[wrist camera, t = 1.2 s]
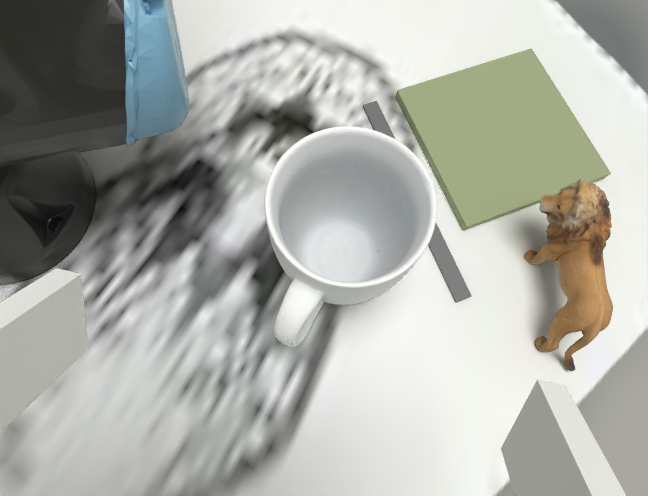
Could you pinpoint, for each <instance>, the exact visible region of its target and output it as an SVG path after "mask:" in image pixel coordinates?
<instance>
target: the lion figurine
mask: <svg viewBox="0 0 648 496" xmlns="http://www.w3.org/2000/svg"><path fill="white" fill-rule="evenodd" d="M540 203H541V204H540V207H539V210H540V211H541V212H542V213H546V214H547V219H548V221H549V222H550V224H549V225H548V227H547V231H546V232H547V233H548V235H547V238H548V243H546V244H545V245H544V246H543V247H542V248H541V249H540V250H539V252H538V253H537V252H536V251H533V250H529V251H527V252H526V253H525V255H524V258H525V259H526V260H527V261H528V262H529V263H531V264H537V265H539V264H541V263H542V262H544V261H545V260H551V261H558V275H559V280H560V284H561V288H562V290H563V292H564V294H565V295H566V296H567V298H568V301H567V304H566V305H565V306H564V307H562V308H561V309H560V310H559V311H558V312H557V314H556V315H555V317H554V319H553V320H552V322H551V326H550V330H549V335H548V338H545V337H544V336H541V337H539V338H537V340H536V341H535V345H536V347H537V349H538V350H540V351H542V352H551V351H553V350H555V349H557V348H558V346H559V342H560V340H561V339H562V338H563V337H564V336H565V335H566V334H568V333H572V332H578V331H582V334H583V337H582V338H580V339H579V340H578V341H576V342H575V343H574V344H573V345H572V346H570V347H569V348H568V350H567V351H566V352H565V358H564V359H565V361H564V364H565V366H566V367H567V369H568V370H570V371H574V370H575V366H574V363H573V358H572V357H571V355H572V354H573V353H575V352H576V351H578V350H579V349H581V348H583V347H584V346H586V345H587V344H589V343H590V342H591V341H592V340H593V339H594V338H595V337H596V336H597V335H598V333H599V332H600V331H602V330H604V329H605V328H606V327H607V326H608V325H609V322H610V320H611V315H612V311H613V305H612V301H611V299H610V296H609V293H608V290H607V285H606V279H605V269H604V262H603V249H604V247H605V246H606V240H608V239H609V237H610V228H611V227H612V225H611V222H610V221H611V217H610V216H611V214H610V209H609V208H608V206H609V202H608V200H607V198H606V195H605V193H604V191H602V190H601V189H600V188H599V187H598V186H596V185H595V184H593V183H589V182H584V180H583V179H582V178H580V179H579V180H578V181H576V182H575V183H572V184H570V185H568V186H566V187H563V188H561V189H560V191H559V193H558V194H556V195H549V194H548V195H544V196H542V197H541V199H540Z"/></svg>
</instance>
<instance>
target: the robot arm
mask: <svg viewBox="0 0 648 496" xmlns="http://www.w3.org/2000/svg"><path fill="white" fill-rule="evenodd" d="M188 110H189V99H188V90H187V83H186V76H185V70H184V64H183V58H182V52H181V47H180V41H179V36H178V30H177V25H176V20H175V15H174V10H173V5H172V0H0V285H2V284H10V283H15V282H20V281H23V280H26V279H29V278H32V277H34V276H36V275H39V274H41V273H42V272H44V271H46V270H48V269H49V268H51V267H53V266H54V265H55V264H57V263H58V262H59V261H61V260H62V259H63V258H64V257H65V256H66V255H68V254H69V253H70V252H71V251H72V249H73V248H74V247H75V246H76V245H77V243H78V242H79V241H80V239H81V238H82V236H83V235H84V233H85V231H86V230H87V227H88V225H89V223H90V221H91V218H92V215H93V211H94V206H95V197H96V195H95V184H94V179H93V176H92V173H91V171H90V169H89V167H88V165H87V164H86V162H85V161H84V159H83V158H82V157H81V156H80V155H79V154H78V153H80V152H85V151H91V150H96V149H102V148H107V147H113V146H118V145H124V144H126V145H131V144H134V143H135V142H136V140H140V139H143V138H147V137H151V136H155V135H159V134H163V133H167V132H171V131H173V130H174V129H176V128H178V127H179V126H180V125H181V124H182V123H183V121H184V120H185V119H186V117H187V114H188ZM88 348H89V347H88V337H87V327H86V318H85V308H84V298H83V289H82V279H81V274H79V273H75V272H70V271H66V270H62V269H57V268H56V269H54V270H52V271H51V272H49V273H48V274H46V275H44V276H43V277H41V278H39V279H38V280H36V281H35V282H33V283H31V284H30V285H28V286H27V287H25V288H23V289H22V290H20V291H18V292H17V293H15V294H14V295H12V296H10V297H9V298H7V299H5V300H4V301H2V302H1V303H0V432H1V431H2V430H3V429H4V428H5V427H6V426H8V425H9V424H10V423H11V422H12V421H13V420H14V419H15V418H16V417H17V416H18V415H19V414H20V413H21V412H22V411H23V410H24V409H25V408H26V407H28V406H29V405H30V404H31V403H32V402H33V401H34V400H35V399H36V398H37V397H38V396H39V395H40V394H41V393H42V392H43V391H44V390H45V389H46V388H47V387H49V386H50V385H51V384H52V383H53V382H54V381H55V380H56V379H57V378H58V377H59V376H60V375H61V374H62V373H63V372H64V371H65V370H66V369H67V368H69V367H70V366H71V365H72V364H73V363H74V362H75V361H76V360H77V359H78V358H79V357H80V356H81V355H82V354H83V353H84V352H85V351H86V350H87V349H88ZM501 450H502V453H503V457H504V460H505V464H506V467H507V470H508V474H509V477H510V481H511V484H512V488H513V491H514V494H515V496H626V495H625V493H624V491H623V489H622V488H621V486H620V484H619V482H618V480H617V478H616V477H615V475H614V473H613V471H612V469H611V467H610V466H609V464H608V462H607V460H606V458H605V456H604V455H603V453H602V451H601V449H600V447H599V445H598V444H597V442H596V440H595V438H594V436H593V435H592V433H591V431H590V429H589V427H588V426H587V424H586V422H585V420H584V418H583V416H582V414H581V413H580V411H579V409H578V407H577V405H576V404H575V402H574V400H573V398H572V396H571V394H570V393H569V391H568V389H567V387H566V386H563V385H558V384H554V383H550V382H545V381H541V380H537V382H536V383H535V385H534V387H533V389H532V391H531V393H530V395H529V397H528V399H527V400H526V402H525V404H524V406H523V408H522V410H521V412H520V414H519V415H518V417H517V419H516V421H515V423H514V425H513V427H512V429H511V431H510V432H509V434H508V436H507V438H506V440H505V442H504V444H503V446H502V448H501Z"/></svg>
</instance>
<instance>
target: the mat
mask: <svg viewBox="0 0 648 496" xmlns="http://www.w3.org/2000/svg"><path fill="white" fill-rule="evenodd" d="M396 98H397V100H398V102H399V104H400V106H401V108H402V110H403V112H404V114H405V116H406V118H407V120H408V122H409V124H410V126H411V128H412V130H413V132H414V134H415V136H416V138H417V140H418V142H419V144H420V146H421V148H422V150H423V152H424V154H425V156H426V158H427V160H428V162H429V164H430V166H431V168H432V170H433V172H434V174H435V176H436V178H437V180H438V182H439V184H440V186H441V188H442V190H443V192H444V194H445V196H446V198H447V200H448V202H449V204H450V206H451V208H452V210H453V212H454V214H455V215H456V217H457V219H458V221H459V223H460V225H461V227H462V229H463V230H465V229H468V228H471V227H473V226H476V225H479V224H481V223H484V222H487V221H489V220H492V219H495V218H498V217H500V216H503V215H506V214H508V213H511V212H514V211H517V210H519V209H522V208H525V207H527V206H530V205H533V204H535V203H538V202H540V199H541V197H542V196H544V195H548V194H549V195H556V194H558V193H559V191H560V189H561V188H563V187H566V186H568V185H570V184H572V183H575V182H576V181H578V180H579V179H580V178H582V179H583V180H584V182H589V183H592V182H595V181H598V180H600V179H603V178H605V177H607V176H608V175H610V174H611V173H610V171H609V170H608V168H607V166H606V165H605V163H604V162H603V160H602V159H601V157H600V155H599V154H598V152H597V151H596V149H595V148H594V146H593V144H592V143H591V141H590V140H589V138H588V137H587V135H586V133H585V132H584V130H583V129H582V127H581V126H580V124H579V122H578V121H577V119H576V118H575V116H574V114H573V113H572V111H571V110H570V108H569V107H568V105H567V103H566V102H565V100H564V99H563V97H562V96H561V94H560V92H559V91H558V89H557V88H556V86H555V85H554V83H553V81H552V80H551V78H550V77H549V75H548V74H547V72H546V70H545V69H544V67H543V66H542V64H541V63H540V61H539V59H538V58H537V56H536V55H535V53H534V52H533V50H532V48H531V49H528V50H525V51H522V52H519V53H515V54H512V55H509V56H506V57H503V58H499V59H496V60H493V61H490V62H487V63H483V64H480V65H477V66H474V67H471V68H467V69H464V70H461V71H458V72H455V73H451V74H448V75H445V76H442V77H439V78H435V79H432V80H429V81H426V82H422V83H419V84H416V85H413V86H410V87H406V88H403V89H400V90H397V94H396Z"/></svg>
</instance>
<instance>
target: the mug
mask: <svg viewBox="0 0 648 496" xmlns="http://www.w3.org/2000/svg"><path fill="white" fill-rule="evenodd" d="M264 207H265V217H266V222H267V227H268V233H269V235H270V241H271V243H272V246H273V249H274V252H275V254H276V257H277V259H278V261H279V263H280V265H281V266H282V268H283V270H284V271H285V273H286V274H287V276H288V277H289V278H290V279H291V280H292V283H291V285H290V287H289V288H288V290H287V293H286V295H285V297H284V299H283V302H282V304H281V307H280V310H279V312H278V315H277V317H276V321H275V324H274V335H275V337H276V338H277V339H278V340H279V341H280V342H281V343H283V344H284V345H286V346H290V347H295V346H297V345H299V344H300V343H301V342H302V340H303V339H304V337H305V336H306V334H307V333H308V331H309V329H310V327H311V325H312V323H313V321H314V319H315V317H316V316H317V314H318V312H319V310H320V308H321V306H322V304H323V302H327V303H332V304H339V305H350V304H357V303H362V302H365V301H369V300H370V299H373V298H375V297H377V296H380V295H381V294H383V293H384V292H386V291H388V290H389V289H390V288H392V286H394V285H395V284H396V283H397V282H399V281H400V280H401V279H402V278H403V276H404V275H406V274H407V273H408V271H409V270H410V269H411V268H412V267H413V265H414V264H415V263H416V262H417V260H418V259H419V258H420V257H421V255H422V254H423V253H424V251H425V249H426V248H427V246H428V244H429V242H430V240H431V237H432V234H433V231H434V228H435V223H436V216H437V201H436V195H435V190H434V186H433V183H432V181H431V178H430V176H429V174H428V172H427V170H426V169H425V167H424V166H423V164H422V163H421V161H420V160H419V159H418V158H417V157H416V156H415V155H414V154H413V153H412V152H411V151H410V150H409V149H408V148H407V147H406V146H404V145H403V144H402V143H400V142H399V141H397V140H395V139H394V138H392V137H390V136H388V135H385V134H383V133H381V132H378V131H374V130H371V129H366V128H361V127H347V126H345V127H334V128H329V129H325V130H321V131H318V132H315V133H313V134H311V135H309V136H306V137H305V138H303V139H301V140H300V141H298V142H297V143H296V144H294V145H293V146H292V147H291V148H290V149H288V150H287V151H286V152H285V153H284V155H283V156H282V157H281V158H280V160H279V161H278V162H277V164H276V165H275V167H274V169H273V171H272V173H271V175H270V177H269V180H268V183H267V187H266V193H265V205H264Z"/></svg>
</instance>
